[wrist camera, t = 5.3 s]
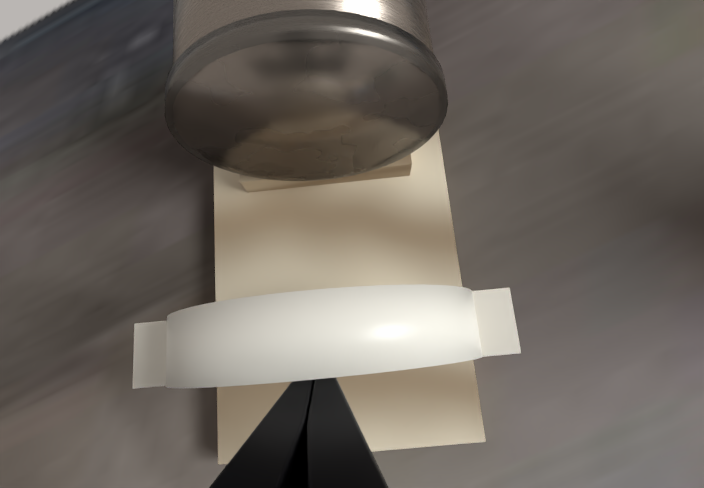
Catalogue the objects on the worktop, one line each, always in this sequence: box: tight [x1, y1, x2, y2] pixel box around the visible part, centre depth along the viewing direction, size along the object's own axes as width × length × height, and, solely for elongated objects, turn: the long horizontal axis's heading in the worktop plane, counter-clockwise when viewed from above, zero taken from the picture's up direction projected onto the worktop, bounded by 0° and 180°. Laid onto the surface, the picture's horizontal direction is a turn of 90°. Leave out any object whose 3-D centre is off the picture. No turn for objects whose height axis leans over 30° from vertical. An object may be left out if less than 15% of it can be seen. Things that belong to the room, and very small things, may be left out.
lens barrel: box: [165, 0, 448, 181], centre depth 14 cm, size 5×8×8 cm, turn 95°
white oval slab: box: [133, 284, 521, 389], centre depth 12 cm, size 2×10×8 cm, turn 95°
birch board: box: [214, 130, 486, 465], centre depth 18 cm, size 17×10×2 cm, turn 5°
